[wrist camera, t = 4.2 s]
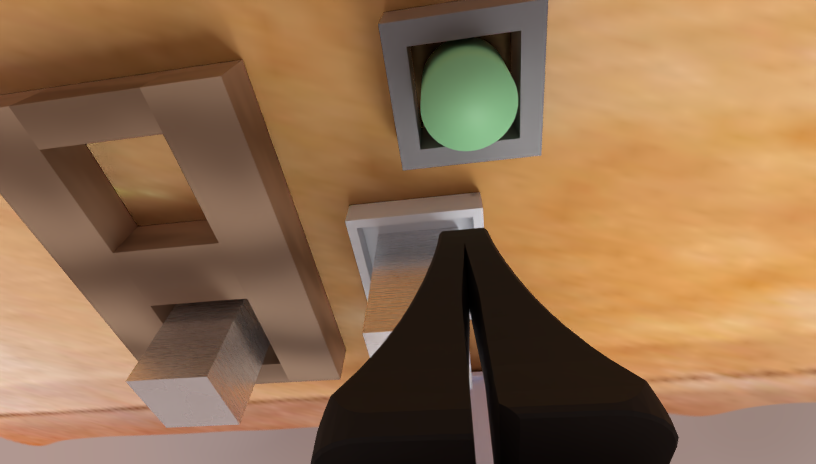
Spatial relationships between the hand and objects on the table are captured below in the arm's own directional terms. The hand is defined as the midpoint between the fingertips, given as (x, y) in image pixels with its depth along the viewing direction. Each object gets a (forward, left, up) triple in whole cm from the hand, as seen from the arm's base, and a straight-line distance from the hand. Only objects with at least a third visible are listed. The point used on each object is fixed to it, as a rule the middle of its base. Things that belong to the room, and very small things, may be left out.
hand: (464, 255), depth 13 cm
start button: (+3, -1, -9) cm, 9 cm away
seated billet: (-10, +15, -9) cm, 21 cm away
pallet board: (-5, +15, -9) cm, 19 cm away
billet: (-7, +2, -9) cm, 12 cm away
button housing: (+3, -1, -9) cm, 10 cm away
